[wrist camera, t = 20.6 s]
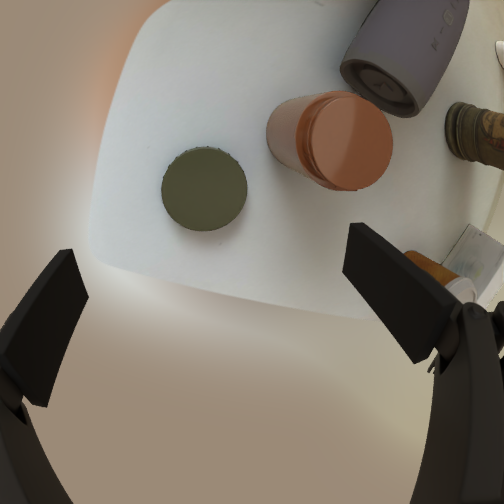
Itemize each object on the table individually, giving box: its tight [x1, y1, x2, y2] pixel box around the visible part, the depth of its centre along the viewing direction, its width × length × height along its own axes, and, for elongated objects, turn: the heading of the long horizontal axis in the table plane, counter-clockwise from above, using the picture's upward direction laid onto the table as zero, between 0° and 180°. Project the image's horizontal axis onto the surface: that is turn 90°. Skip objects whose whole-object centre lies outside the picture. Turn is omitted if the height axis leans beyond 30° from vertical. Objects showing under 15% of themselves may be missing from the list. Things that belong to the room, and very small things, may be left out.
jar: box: [266, 91, 393, 191], centre depth 20 cm, size 8×8×10 cm
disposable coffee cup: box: [404, 251, 477, 304], centre depth 31 cm, size 10×10×12 cm
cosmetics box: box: [441, 224, 504, 309], centre depth 33 cm, size 10×6×10 cm, turn 143°
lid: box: [161, 146, 247, 231], centre depth 25 cm, size 8×8×2 cm
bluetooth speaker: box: [340, 0, 469, 118], centre depth 16 cm, size 23×9×10 cm, turn 149°
